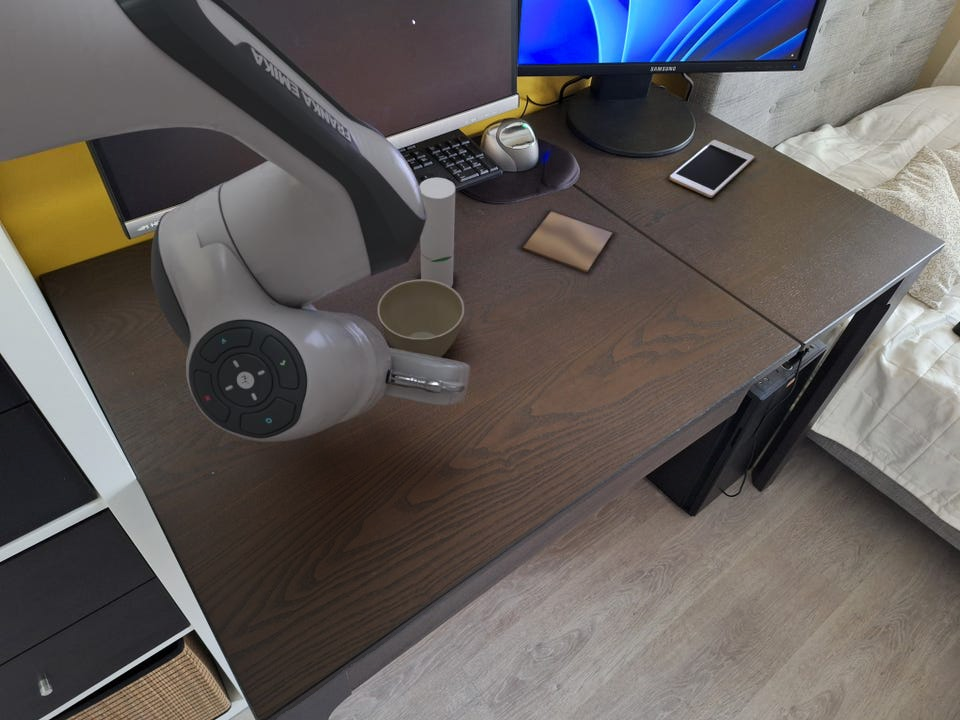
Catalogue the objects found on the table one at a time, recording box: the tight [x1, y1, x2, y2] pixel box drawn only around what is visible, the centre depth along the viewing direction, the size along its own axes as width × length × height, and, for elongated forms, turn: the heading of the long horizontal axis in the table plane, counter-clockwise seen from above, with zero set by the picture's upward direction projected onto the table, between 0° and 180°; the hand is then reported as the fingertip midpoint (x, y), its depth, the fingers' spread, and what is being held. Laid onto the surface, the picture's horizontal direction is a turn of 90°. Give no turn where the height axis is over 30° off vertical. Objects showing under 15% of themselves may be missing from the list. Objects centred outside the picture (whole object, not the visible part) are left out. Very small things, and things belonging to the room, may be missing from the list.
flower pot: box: [376, 278, 465, 358], centre depth 80 cm, size 10×10×7 cm
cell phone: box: [669, 139, 755, 199], centre depth 112 cm, size 8×16×1 cm, turn 140°
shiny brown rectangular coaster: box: [522, 211, 613, 274], centre depth 98 cm, size 10×10×1 cm
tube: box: [419, 177, 456, 288], centre depth 85 cm, size 4×4×15 cm
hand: (378, 360), depth 68 cm, fingers closed
